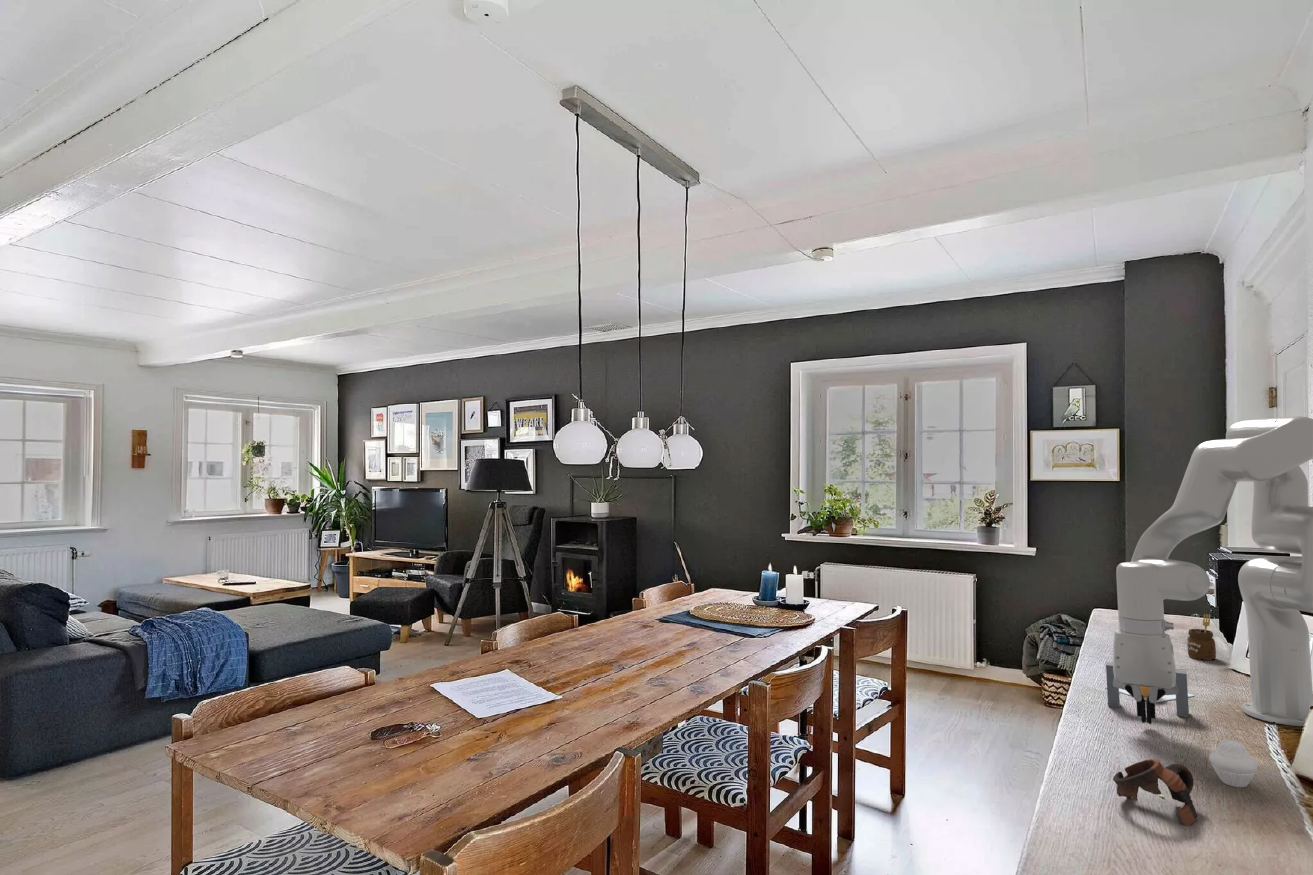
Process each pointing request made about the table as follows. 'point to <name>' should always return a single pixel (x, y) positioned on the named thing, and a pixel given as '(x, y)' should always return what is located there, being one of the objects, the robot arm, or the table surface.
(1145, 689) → the ball
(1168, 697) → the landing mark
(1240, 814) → the table surface
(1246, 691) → the table surface
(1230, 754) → the muffin
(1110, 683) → the bridge
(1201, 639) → the utensil holder
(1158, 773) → the broken clay pot
